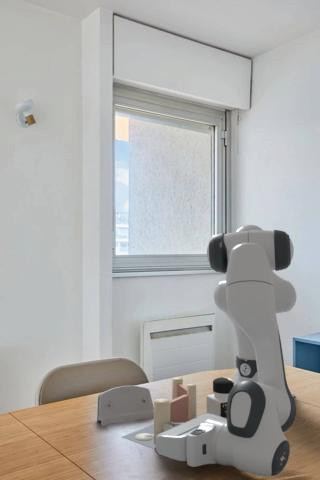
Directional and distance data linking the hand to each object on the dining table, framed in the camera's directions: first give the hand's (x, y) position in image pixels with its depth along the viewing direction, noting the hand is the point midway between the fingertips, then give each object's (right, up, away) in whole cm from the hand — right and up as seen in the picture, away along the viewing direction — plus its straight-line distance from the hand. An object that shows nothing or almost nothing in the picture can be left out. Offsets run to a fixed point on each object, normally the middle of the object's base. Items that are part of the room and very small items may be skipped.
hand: (166, 426), depth 113 cm
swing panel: (+2, -5, +5) cm, 7 cm away
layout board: (+5, -6, +8) cm, 11 cm away
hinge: (-11, -7, +24) cm, 27 cm away
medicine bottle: (+16, -7, +20) cm, 26 cm away
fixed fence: (+5, -6, +17) cm, 19 cm away
